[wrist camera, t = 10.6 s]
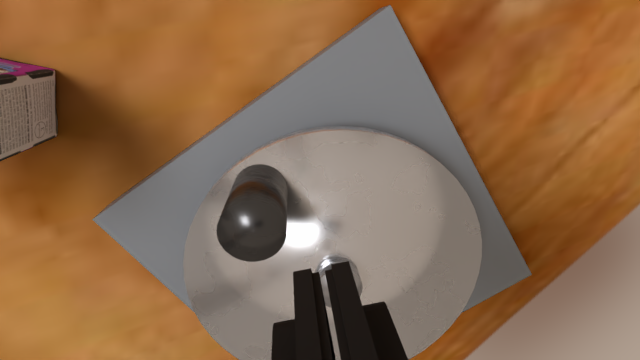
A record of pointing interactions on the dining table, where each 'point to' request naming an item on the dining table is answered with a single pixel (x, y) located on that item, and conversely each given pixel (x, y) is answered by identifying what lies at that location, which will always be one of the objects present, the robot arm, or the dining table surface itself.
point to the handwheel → (332, 236)
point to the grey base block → (305, 113)
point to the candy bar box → (26, 106)
